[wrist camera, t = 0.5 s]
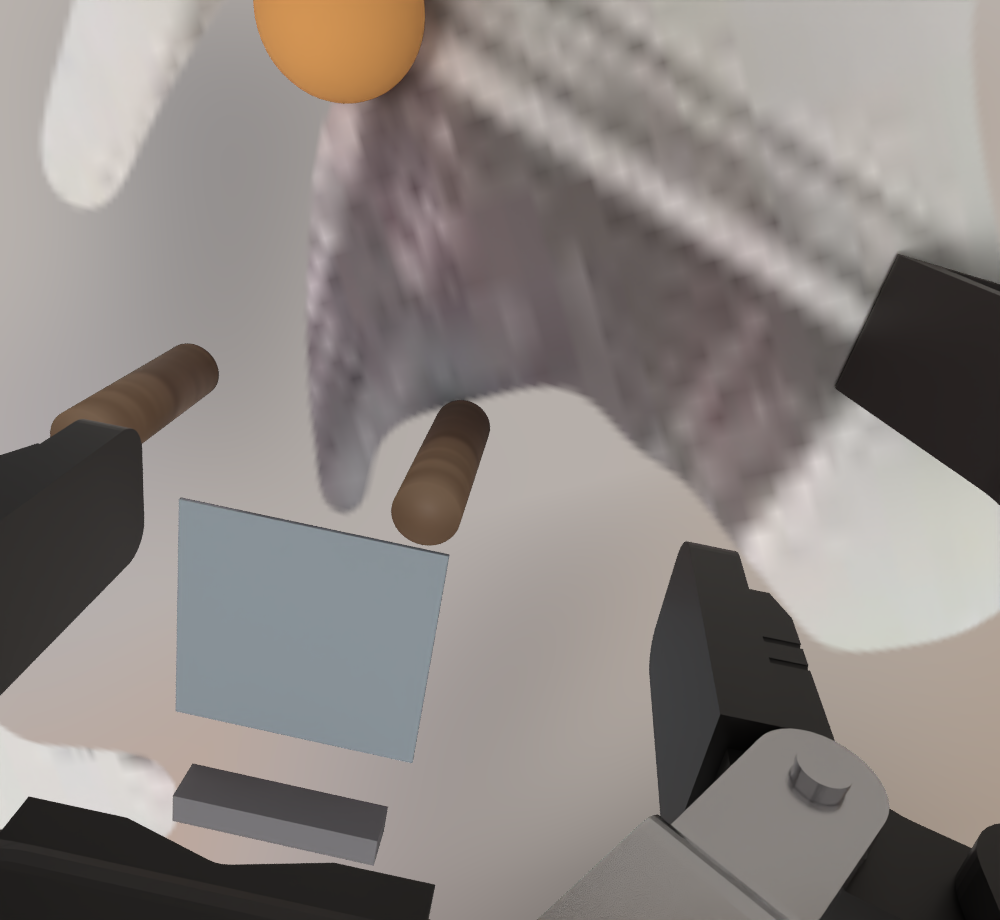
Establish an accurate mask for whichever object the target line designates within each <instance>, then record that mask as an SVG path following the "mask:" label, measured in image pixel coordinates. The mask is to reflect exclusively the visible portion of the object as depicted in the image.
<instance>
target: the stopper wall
mask: <svg viewBox="0 0 1000 920" xmlns="http://www.w3.org/2000/svg"><path fill="white" fill-rule="evenodd" d="M387 808H388V807H386V806H382V805H377V804H373V803H368V802H364V801H359V800H355V799H350V798H346V797H341V796H337V795H332V794H328V793H323V792H319V791H314V790H310V789H305V788H301V787H296V786H291V785H287V784H282V783H278V782H273V781H269V780H264V779H259V778H255V777H250V776H246V775H242V774H237V773H233V772H228V771H224V770H219V769H215V768H210V767H206V766H201V765H197V764H192V765H191V767H190V769H189V771H188V772H187V774H186V775H185V777H184V779H183V780H182V782H181V784H180V785H179V787H178V788H177V790H176V792H175V793H174V795H173V821H176V822H180V823H185V824H190V825H194V826H198V827H203V828H207V829H212V830H217V831H221V832H225V833H230V834H234V835H239V836H243V837H248V838H252V839H257V840H261V841H266V842H270V843H274V844H279V845H283V846H288V847H292V848H297V849H302V850H306V851H311V852H315V853H319V854H324V855H328V856H333V857H337V858H342V859H346V860H351V861H355V862H360V863H364V864H369V865H374V862H375V859H376V855H377V852H378V849H379V845H380V842H381V838H382V835H383V832H384V827H385V820H386V814H387Z"/></svg>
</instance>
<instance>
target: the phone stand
mask: <svg viewBox="0 0 1000 920" xmlns="http://www.w3.org/2000/svg"><path fill="white" fill-rule="evenodd" d="M835 388H836V389H837V390H838V391H840V392H841V393H843V394H844V395H845V396H847V397H848V398H850V399H851V400H853V401H854V402H856V403H857V404H858V405H860V406H861V407H863V408H864V409H866V410H867V411H868V412H870V413H871V414H873V415H874V416H876V417H877V418H879V419H880V420H881V421H883V422H884V423H886V424H887V425H889V426H890V427H892V428H893V429H894V430H896V431H897V432H899V433H900V434H902V435H903V436H904V437H906V438H907V439H909V440H910V441H912V442H913V443H915V444H916V445H917V446H919V447H920V448H922V449H923V450H925V451H926V452H928V453H929V454H930V455H932V456H933V457H935V458H936V459H938V460H939V461H940V462H942V463H943V464H945V465H946V466H948V467H949V468H951V469H952V470H953V471H955V472H956V473H958V474H959V475H961V476H962V477H964V478H965V479H966V480H968V481H969V482H971V483H972V484H974V485H975V486H976V487H978V488H979V489H981V490H982V491H984V492H985V493H986V494H987V495H989V496H990V497H991V498H992V499H994V500H995V501H996V502H997V503H998V504H999V505H1000V284H997V283H994V282H990V281H987V280H984V279H980V278H977V277H974V276H970V275H967V274H964V273H960V272H957V271H954V270H950V269H947V268H944V267H940V266H937V265H934V264H930V263H927V262H924V261H920V260H917V259H914V258H910V257H907V256H904V255H900V254H898V257H897V259H896V261H895V263H894V265H893V267H892V269H891V271H890V273H889V276H888V278H887V280H886V282H885V284H884V286H883V288H882V290H881V292H880V295H879V297H878V299H877V301H876V303H875V305H874V307H873V309H872V311H871V314H870V316H869V318H868V320H867V322H866V324H865V326H864V328H863V330H862V332H861V335H860V337H859V339H858V341H857V343H856V345H855V347H854V349H853V351H852V354H851V356H850V358H849V360H848V362H847V364H846V366H845V368H844V370H843V373H842V375H841V377H840V379H839V381H838V383H837V385H836V387H835Z"/></svg>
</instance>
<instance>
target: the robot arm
mask: <svg viewBox="0 0 1000 920" xmlns="http://www.w3.org/2000/svg"><path fill="white" fill-rule="evenodd" d="M142 466H143V465H142V443H141V439H140V436H139V434H138V432H137V431H136V430H134V429H132V428H127V427H122V426H117V425H112V424H107V423H102V422H97V421H92V420H87V419H79V420H77V421H75V422H73V423H72V424H70V425H69V426H67V427H65V428H64V429H62V430H61V431H59V432H58V433H56V434H55V435H53V436H52V437H50V438H48V439H47V440H45V441H44V442H42V443H41V444H34V445H31V446H28V447H25V448H22V449H19V450H15V451H12V452H9V453H6V454H3V455H0V695H1V694H2V693H3V692H4V691H5V690H6V689H7V688H8V687H9V686H10V685H11V684H12V683H13V682H14V681H15V680H16V679H17V678H18V677H19V675H21V674H22V673H23V672H24V671H25V670H26V669H27V668H28V666H30V664H31V663H32V662H33V661H34V660H35V659H36V658H37V657H38V656H39V655H40V654H41V653H42V652H43V651H44V650H45V649H46V648H47V647H48V646H49V645H50V644H51V643H52V642H53V641H54V640H55V639H56V638H57V637H58V636H59V635H60V634H61V633H62V632H63V631H64V630H65V629H66V628H67V627H68V625H69V624H71V622H73V621H74V619H75V618H76V617H77V616H78V615H79V614H80V613H81V612H82V611H83V610H84V609H85V608H86V607H87V606H88V605H89V604H90V603H91V602H92V601H93V600H94V599H95V598H96V597H97V596H98V595H99V594H100V593H101V592H102V591H103V590H104V589H105V588H106V587H107V586H108V585H109V584H110V583H111V582H112V581H113V580H114V579H115V578H116V576H118V575H119V573H120V572H121V571H122V570H123V569H124V568H125V567H126V566H127V565H128V564H129V563H130V562H131V561H132V559H133V558H134V556H135V554H136V552H137V550H138V548H139V545H140V542H141V539H142V535H143V529H144V500H143V467H142ZM800 645H801V643H800V640H799V638H798V635H797V632H796V629H795V626H794V623H793V620H792V618H791V617H790V616H789V615H788V614H787V612H786V611H785V610H784V609H783V608H782V607H781V606H780V605H779V603H778V602H777V601H776V600H775V599H774V598H773V597H772V596H771V595H770V593H766V592H760V591H756V590H751V589H749V587H748V584H747V581H746V577H745V573H744V570H743V566H742V563H741V559H740V556H739V554H738V552H736V551H731V550H726V549H721V548H717V547H711V546H707V545H702V544H697V543H692V542H684V543H683V545H682V546H681V548H680V550H679V553H678V556H677V559H676V562H675V565H674V569H673V572H672V575H671V578H670V582H669V585H668V588H667V592H666V595H665V598H664V601H663V605H662V608H661V611H660V614H659V618H658V621H657V624H656V628H655V631H654V635H653V640H652V645H651V653H650V664H649V675H650V687H651V700H652V712H653V726H654V738H655V751H656V764H657V777H658V789H659V803H660V815H661V816H659V815H653V816H651V817H649V818H647V819H646V820H644V821H643V822H642V823H641V824H640V825H638V826H637V827H636V828H635V829H634V830H633V831H632V832H631V833H630V834H629V835H628V836H627V837H625V838H624V839H623V841H621V842H620V843H619V844H618V845H617V846H616V847H615V848H614V849H613V850H612V851H611V852H609V853H608V854H607V855H606V856H605V857H604V858H603V859H602V860H601V861H600V862H599V863H598V864H596V865H595V866H594V867H593V868H592V869H591V870H590V871H589V872H588V873H587V874H586V875H585V876H584V877H583V878H581V879H580V880H579V881H578V882H577V883H576V884H575V885H574V886H573V887H572V888H571V889H570V890H569V891H567V892H566V893H565V894H564V895H563V896H562V897H561V898H560V899H559V900H558V901H557V902H556V903H555V904H554V905H552V906H551V907H550V908H549V909H548V910H547V911H546V912H545V913H544V914H543V915H542V916H541V917H540V918H538V919H537V920H1000V824H994V825H992V826H989V827H987V828H986V829H985V830H983V831H982V832H981V834H980V836H979V837H978V839H977V841H976V842H975V844H974V846H973V847H972V848H970V847H968V846H966V845H963V844H961V843H959V842H957V841H954V840H952V839H950V838H947V837H946V836H943V835H941V834H939V833H937V832H935V831H932V830H930V829H928V828H926V827H924V826H921V825H919V824H917V823H915V822H913V821H911V820H908V819H907V818H905V817H903V816H901V815H899V814H898V813H896V812H894V811H893V810H891V809H889V800H888V797H887V794H886V791H885V789H884V787H883V785H882V783H881V781H880V780H879V778H878V777H877V776H876V774H875V773H874V772H873V771H872V769H871V768H870V767H869V766H868V765H867V764H866V763H865V762H864V761H863V760H861V759H860V758H859V757H858V756H857V755H856V754H854V753H853V752H851V751H850V750H848V749H847V748H846V747H844V746H842V745H840V744H839V743H837V742H835V740H834V737H833V734H832V732H831V729H830V726H829V723H828V720H827V718H826V715H825V712H824V709H823V706H822V703H821V700H820V698H819V695H818V692H817V689H816V686H815V683H814V680H813V678H812V675H811V672H810V671H808V664H807V661H806V658H805V655H804V652H803V649H800ZM434 889H435V885H434V884H429V883H425V882H420V881H415V880H411V879H406V878H401V877H397V876H392V875H388V874H383V873H378V872H374V871H369V870H364V869H359V868H355V867H351V866H346V865H341V864H337V863H301V864H253V865H252V864H251V865H250V864H247V865H225V864H219V863H215V862H212V861H210V860H208V859H206V858H203V857H202V856H200V855H198V854H196V853H194V852H192V851H190V850H188V849H186V848H184V847H182V846H181V845H179V844H177V843H175V842H173V841H171V840H169V839H167V838H165V837H163V836H161V835H159V834H157V833H155V832H154V831H152V830H150V829H148V828H146V827H144V826H142V825H140V824H138V823H136V822H134V821H132V820H130V819H128V818H125V817H121V816H116V815H111V814H107V813H102V812H98V811H93V810H88V809H84V808H79V807H75V806H70V805H65V804H61V803H56V802H52V801H47V800H42V799H38V798H33V797H28V798H27V799H26V801H25V802H24V803H23V804H22V806H21V807H20V808H19V809H18V811H17V812H16V813H15V814H14V816H13V817H12V818H11V819H10V821H9V822H8V823H7V824H6V826H5V827H4V828H3V829H2V830H0V920H430V919H429V914H430V909H431V904H432V899H433V893H434Z"/></svg>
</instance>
